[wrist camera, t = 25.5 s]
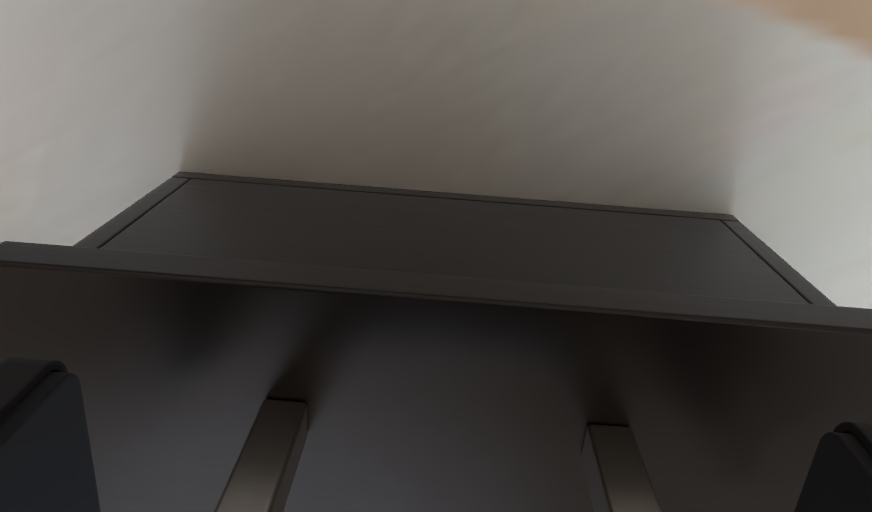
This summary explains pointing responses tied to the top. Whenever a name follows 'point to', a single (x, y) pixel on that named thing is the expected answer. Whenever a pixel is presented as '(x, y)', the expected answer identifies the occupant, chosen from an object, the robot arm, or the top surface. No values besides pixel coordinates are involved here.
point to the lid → (429, 386)
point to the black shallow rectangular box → (455, 237)
